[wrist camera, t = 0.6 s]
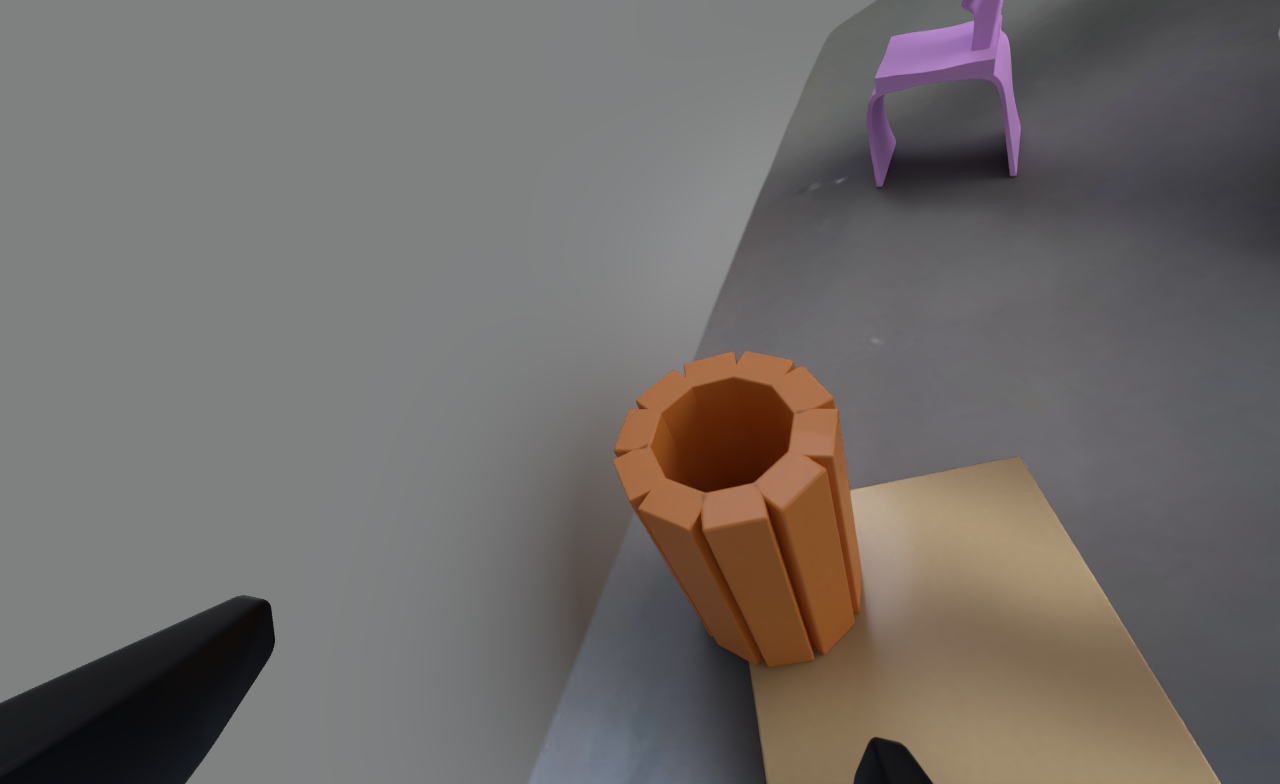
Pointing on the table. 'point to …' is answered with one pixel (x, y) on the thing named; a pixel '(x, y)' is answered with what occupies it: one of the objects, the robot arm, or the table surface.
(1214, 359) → the table surface
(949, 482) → the ring board
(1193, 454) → the table surface
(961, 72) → the toy chair
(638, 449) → the pen holder
